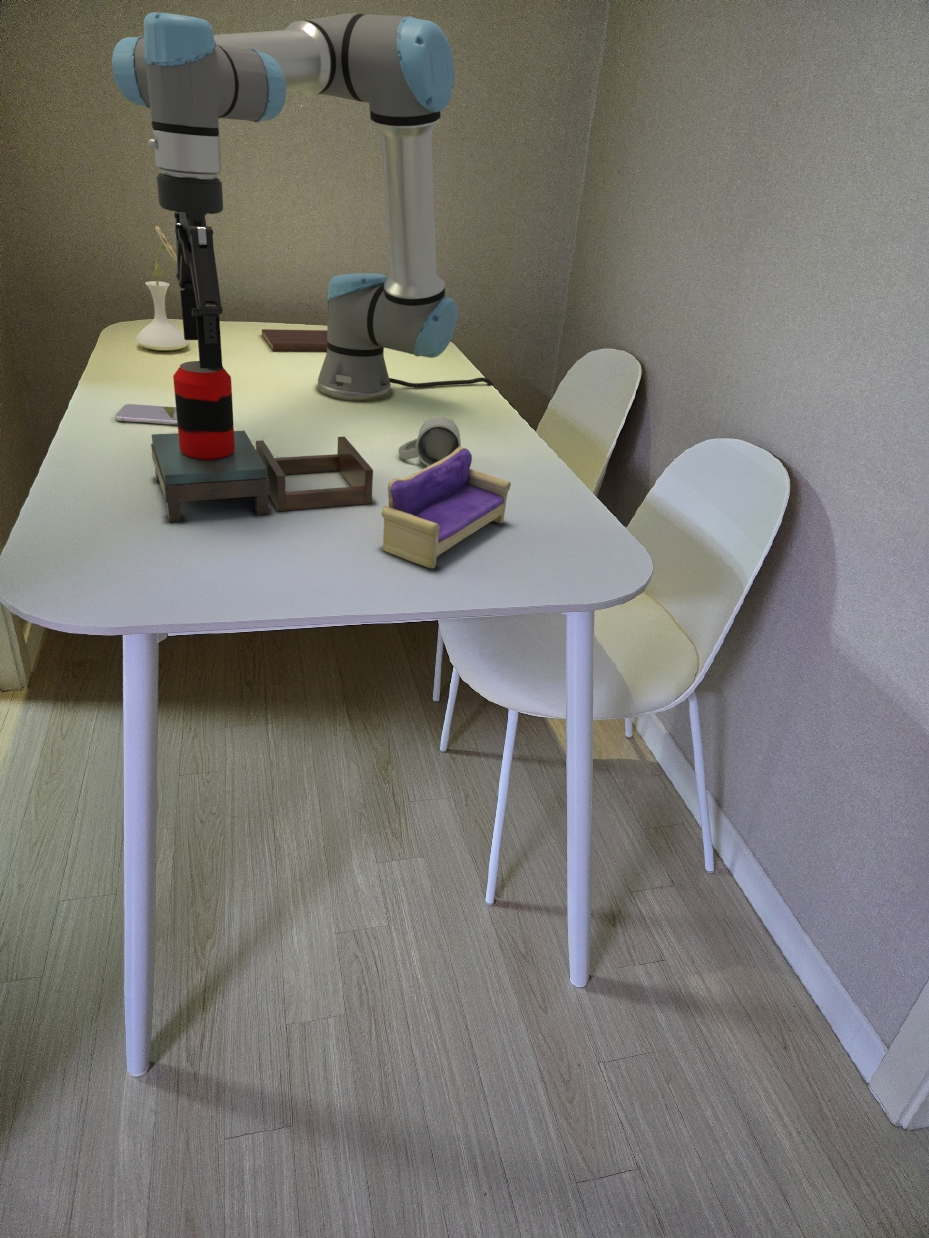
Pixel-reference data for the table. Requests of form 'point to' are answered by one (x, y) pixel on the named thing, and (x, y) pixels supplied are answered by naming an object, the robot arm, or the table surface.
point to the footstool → (209, 474)
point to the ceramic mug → (433, 441)
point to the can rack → (343, 461)
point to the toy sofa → (440, 508)
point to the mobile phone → (147, 414)
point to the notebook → (296, 340)
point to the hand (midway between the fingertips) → (202, 353)
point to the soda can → (204, 411)
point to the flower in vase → (161, 313)
